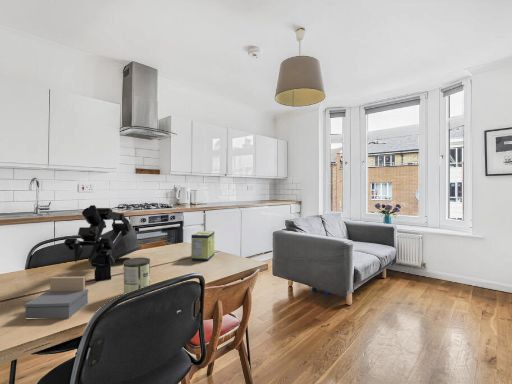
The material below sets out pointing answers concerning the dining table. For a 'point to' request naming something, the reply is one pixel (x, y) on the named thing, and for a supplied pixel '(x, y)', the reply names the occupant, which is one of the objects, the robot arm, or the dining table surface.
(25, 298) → the dining table surface
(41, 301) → the lid
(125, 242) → the planter
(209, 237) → the protein box
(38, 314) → the mailer box
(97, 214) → the robot arm
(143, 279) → the coffee can
